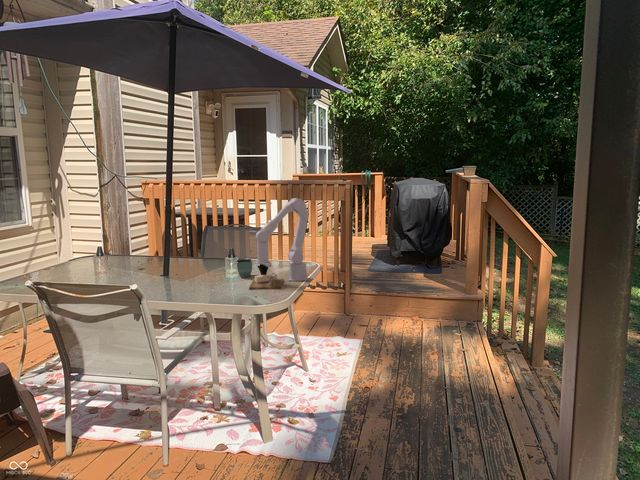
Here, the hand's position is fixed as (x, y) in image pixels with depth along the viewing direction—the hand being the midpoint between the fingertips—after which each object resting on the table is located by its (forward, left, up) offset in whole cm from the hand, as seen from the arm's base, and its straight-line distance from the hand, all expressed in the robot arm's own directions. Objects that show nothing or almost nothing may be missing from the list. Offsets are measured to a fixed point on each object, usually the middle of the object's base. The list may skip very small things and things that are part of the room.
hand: (263, 278), depth 265 cm
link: (-2, +2, -1) cm, 2 cm away
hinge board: (-2, +6, -2) cm, 6 cm away
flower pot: (+13, -17, -2) cm, 22 cm away
